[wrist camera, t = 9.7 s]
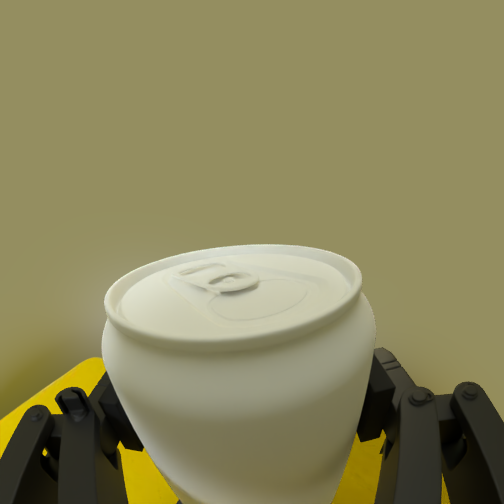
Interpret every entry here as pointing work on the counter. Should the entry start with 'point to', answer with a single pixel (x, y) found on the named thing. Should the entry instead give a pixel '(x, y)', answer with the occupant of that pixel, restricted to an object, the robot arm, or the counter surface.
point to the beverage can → (243, 369)
